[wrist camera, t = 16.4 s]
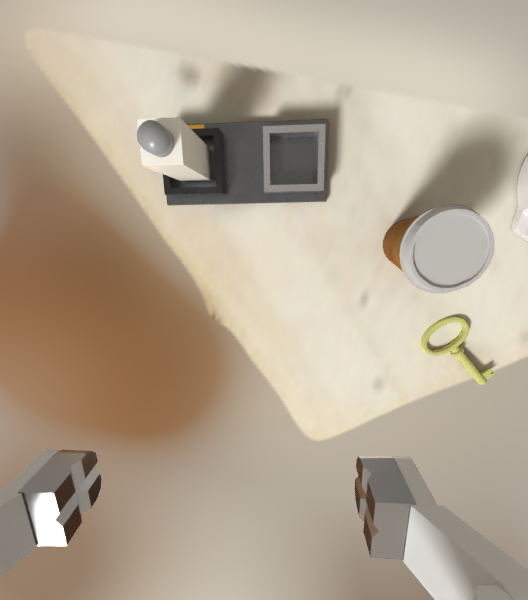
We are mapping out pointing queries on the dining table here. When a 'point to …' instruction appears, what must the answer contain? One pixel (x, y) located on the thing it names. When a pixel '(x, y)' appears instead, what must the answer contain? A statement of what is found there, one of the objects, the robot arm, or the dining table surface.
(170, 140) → the plug
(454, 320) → the key
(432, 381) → the dining table surface
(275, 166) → the panel
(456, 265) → the disposable coffee cup
